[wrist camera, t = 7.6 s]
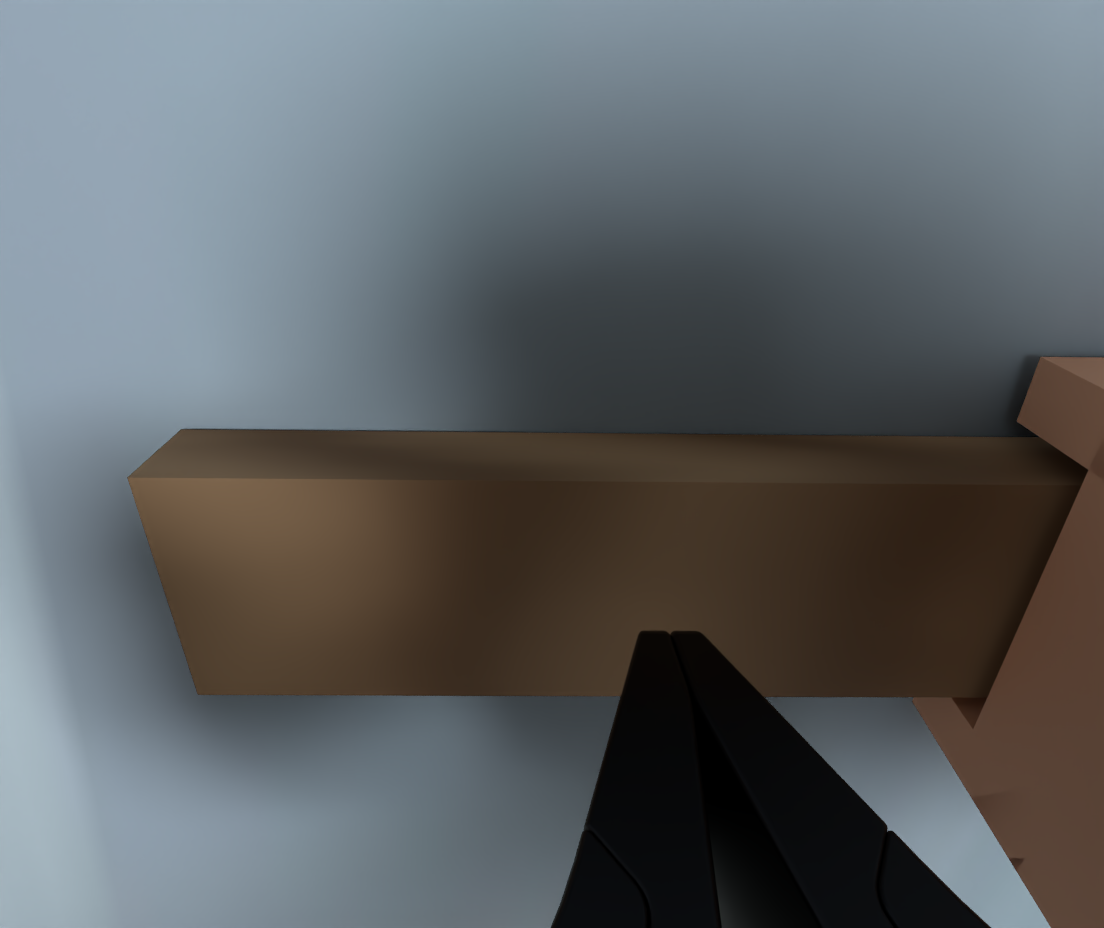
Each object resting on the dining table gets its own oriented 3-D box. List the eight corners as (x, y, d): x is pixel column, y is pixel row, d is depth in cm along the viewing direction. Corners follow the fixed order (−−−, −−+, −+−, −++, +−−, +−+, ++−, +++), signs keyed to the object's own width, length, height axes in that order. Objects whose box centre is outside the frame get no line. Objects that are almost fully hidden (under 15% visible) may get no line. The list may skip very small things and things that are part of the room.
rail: (252, 690, 13) (98, 996, 8) (155, 334, 10) (-179, 530, 5) (1283, 694, 13) (1655, 992, 9) (1536, 348, 10) (2343, 547, 5)
